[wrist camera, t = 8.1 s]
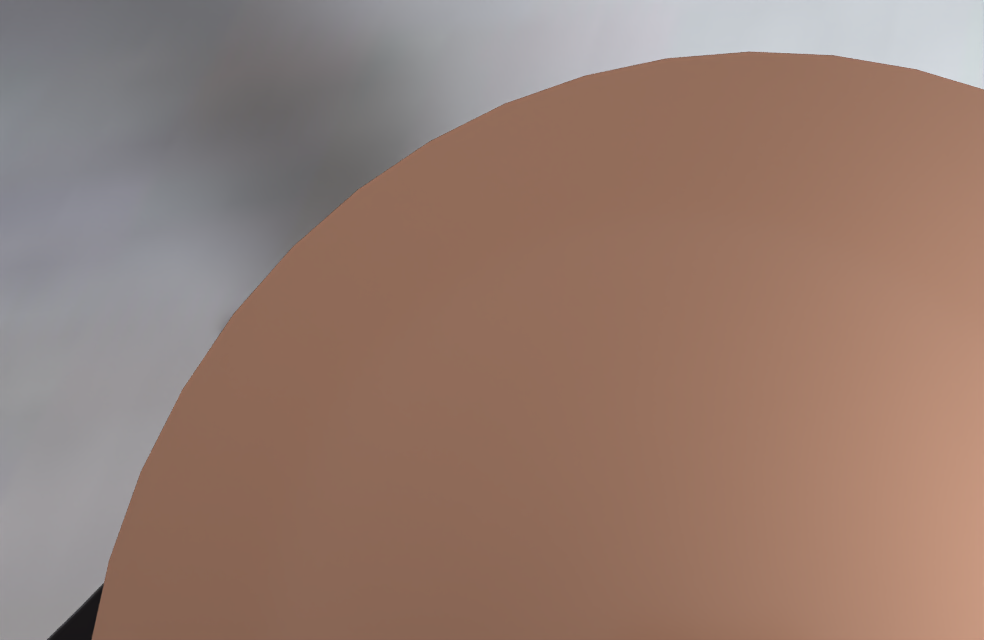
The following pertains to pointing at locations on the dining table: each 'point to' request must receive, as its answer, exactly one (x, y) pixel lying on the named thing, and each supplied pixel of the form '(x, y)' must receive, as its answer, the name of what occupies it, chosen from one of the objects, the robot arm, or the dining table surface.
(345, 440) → the terracotta cylinder
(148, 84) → the dining table surface
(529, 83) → the dining table surface
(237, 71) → the dining table surface
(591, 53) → the dining table surface
